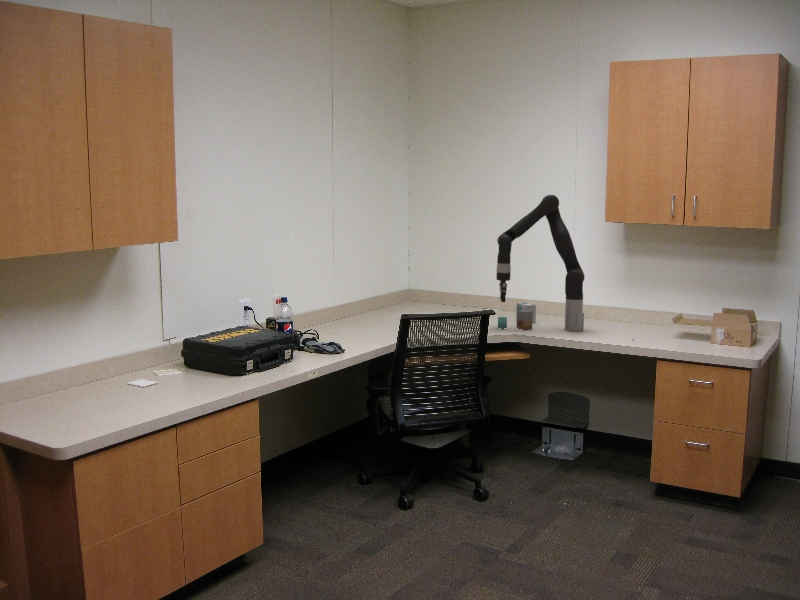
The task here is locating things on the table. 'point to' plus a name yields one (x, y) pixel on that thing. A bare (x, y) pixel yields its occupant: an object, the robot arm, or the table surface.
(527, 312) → the grey top block
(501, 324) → the teal cylinder
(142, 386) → the table surface
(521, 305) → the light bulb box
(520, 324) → the walnut base block
